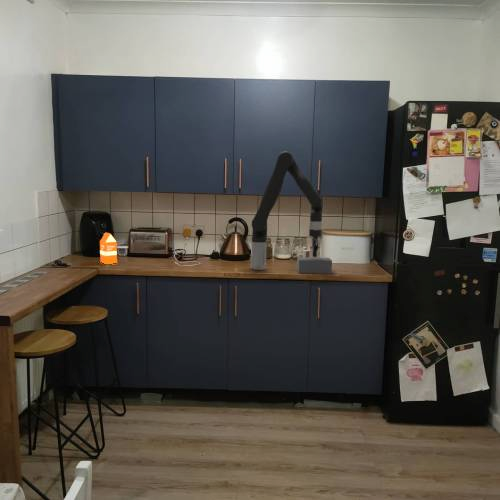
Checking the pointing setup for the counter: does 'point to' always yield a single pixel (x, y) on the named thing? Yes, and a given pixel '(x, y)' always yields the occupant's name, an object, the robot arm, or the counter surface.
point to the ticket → (312, 252)
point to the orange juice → (108, 249)
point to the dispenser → (314, 265)
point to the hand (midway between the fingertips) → (314, 256)
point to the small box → (306, 253)
